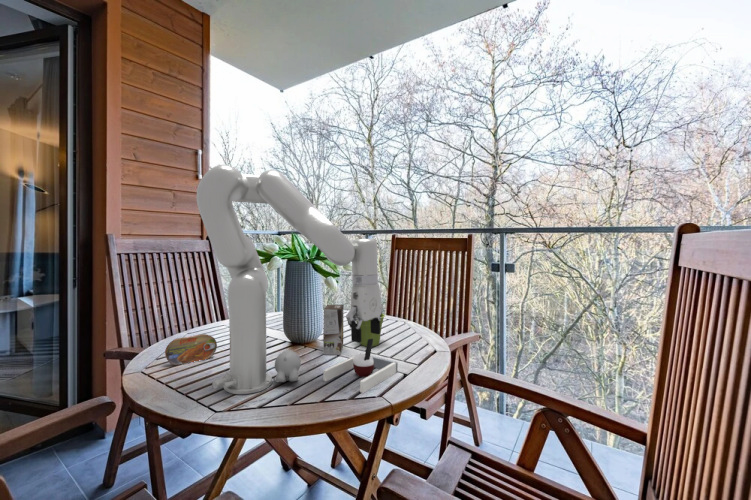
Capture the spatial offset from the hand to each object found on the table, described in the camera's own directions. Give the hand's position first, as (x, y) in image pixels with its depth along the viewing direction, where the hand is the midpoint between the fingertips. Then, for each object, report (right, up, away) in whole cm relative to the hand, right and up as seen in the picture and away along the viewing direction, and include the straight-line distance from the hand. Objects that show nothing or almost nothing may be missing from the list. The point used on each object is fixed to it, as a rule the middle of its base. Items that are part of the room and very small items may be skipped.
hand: (366, 337), depth 104 cm
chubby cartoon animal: (-22, -12, -3) cm, 25 cm away
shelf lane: (-1, -11, -1) cm, 11 cm away
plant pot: (0, -11, +31) cm, 32 cm away
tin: (-58, -11, +11) cm, 60 cm away
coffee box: (-12, -11, +22) cm, 28 cm away
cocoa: (-1, -12, 0) cm, 12 cm away
